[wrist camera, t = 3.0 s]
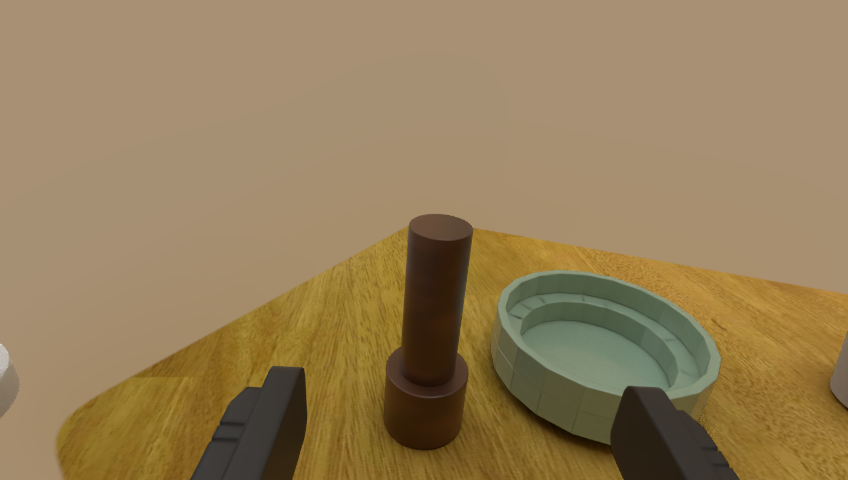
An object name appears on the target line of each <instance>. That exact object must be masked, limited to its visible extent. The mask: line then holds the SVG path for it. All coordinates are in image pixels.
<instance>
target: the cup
mask: <svg viewBox="0 0 848 480" xmlns="http://www.w3.org/2000/svg"><path fill="white" fill-rule="evenodd" d="M830 387H831V390H832V392H833V393H834V395H835V396H836V397H837V399H838V400H839V401H840V402H841V403H842V404H843V405H844V406H845V407H847V408H848V332H847V334H846V337H845V340H844V343H843V346H842V349H841V352H840V355H839V358H838V361H837V364H836V367H835V370H834V373H833V376H832V378H831V381H830Z"/></svg>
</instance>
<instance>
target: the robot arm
mask: <svg viewBox="0 0 848 480" xmlns="http://www.w3.org/2000/svg"><path fill="white" fill-rule="evenodd" d="M306 424H307V402H306V385H305V371H304V368H302V367H283V366H272V367H271V369H270V370H269V372H268V375H267V377H266V379H265V381H264V384H263V386H262V388H259V387H246V388H245V389H244V390H243V391H242V392H241V393H240V394H239V395H238V396H237V397H235V398H234V399H233V400H232V401H231V402H230V403H229V405H228V407H227V409H226V411H225V413H224V415H223V417H222V419H221V421H220V425H219V426H218V427H217V429H216V431H215V432H214V434H213V436H212V441H211V442H209V444H208V446H207V448H206V450H205V452H204V454H203V456H202V458H201V460H200V462H199V464H198V466H197V467H196V469H195V471H194V473H193V475H192V477H191V479H190V480H292V479H293V475H294V472H295V468H296V465H297V461H298V458H299V454H300V451H301V448H302V444H303V441H304V437H305V431H306ZM610 444H611V450H612V453H613V456H614V459H615V461H616V463H617V466H618V468H619V470H620V472H621V475H622V477H623V479H624V480H740V479H739V478H738V476H737V475H736V473H735V472H734V470H733V469H732V468H729V463H728V462H727V460H726V459H725V457H724V456H723V455H722V453H721V452H720V451H718V450H717V448H718V447H717V446H716V445H715V443H714V442H713V440H712V439H711V437H710V436H709V434H708V433H707V432H706V430H705V429H704V427H702V426H701V425H700V424H699V423H698V422H697V421H695V420H694V419H693V418H692V417H691V416H690V415H688V414H687V413H686V412H685V411H684V410H676V408H675V407H674V405H673V403H672V402H671V400H670V399H669V397H668V396H667V394H666V393H665V392H664V390H663V389H661V388H659V387H643V386H627V387H626V388H625V390H624V392H623V395H622V398H621V401H620V404H619V407H618V410H617V413H616V416H615V419H614V422H613V425H612V428H611V433H610Z"/></svg>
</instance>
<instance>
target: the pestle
mask: <svg viewBox="0 0 848 480" xmlns="http://www.w3.org/2000/svg"><path fill="white" fill-rule="evenodd" d="M472 236H473V228H472V226H471V225H470V224H469V223H468V222H466V221H465V220H463V219H460V218H457V217H454V216H449V215H442V214H428V215H422V216H418V217H416V218H414V219H412V220H411V222H410V223H409V233H408V248H407V264H406V280H405V295H404V311H403V327H402V342H401V347H399V348H398V349H396V350H395V351H394V352H393V353H392V354H391V355H390V357H389V359H388V361H387V364H386V381H385V402H384V422H385V426H386V428H387V430H388V431H389V433H390V434H391V435H392V436H393V438H395V439H396V440H397V441H398V442H400V443H402V444H404V445H406V446H408V447H411V448H415V449H434V448H438V447H441V446H444V445H446V444H447V443H449V442H450V441H451V440H452V439H454V438H455V436H456V435H457V434H458V432H459V430H460V427H461V421H462V414H463V407H464V400H465V394H466V387H467V380H468V367H467V364H466V362H465V361H464V359H463V358H462V357H461V355H460V354H458V353H457V350H458V343H459V335H460V327H461V320H462V312H463V304H464V297H465V289H466V282H467V274H468V266H469V259H470V251H471V243H472Z"/></svg>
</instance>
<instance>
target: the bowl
mask: <svg viewBox="0 0 848 480" xmlns="http://www.w3.org/2000/svg"><path fill="white" fill-rule="evenodd" d="M490 349H491V354H492V359H493V364H494V368H495V370H496V372H497V373H498V375H499V376H500V378H501V380H502V381H503V383H504V384H505V386H506V387H507V389H508V390H509V392H511V393H512V394H513V395H514V396H515V397H516V398H518V399H519V400H520V401H521V402H522V403H523V404H524V405H526V406H527V407H528V408H529V409H530V410H531V411H533V412H534V413H535V414H537V415H538V416H540V417H542V418H544V419H545V420H547V421H549V422H551V423H553V424H555V425H557V426H558V427H560V428H562V429H564V430H566V431H568V432H570V433H571V434H574V435H578V436H581V437H584V438H588V439H591V440H595V441H598V442H601V443H605V444H608V445H611V444H610V433H611V428H612V425H613V422H614V419H615V416H616V413H617V410H618V407H619V404H620V401H621V398H622V395H623V392H624V390H625V388H626V387H627V386H643V387H659V388H661V389H663V390H664V392H665V393H666V394H667V396H668V397H669V399H670V400H671V402H672V403H673V405H674V407H675V408H676V410H684V411H685V412H686V413H687V414H688V415H690V416H691V417H692V418H693V419H694V420H695V421H697V422H698V420H699V418H700V416H701V414H702V412H703V409H704V407H705V405H706V403H707V400H708V398H709V396H710V394H711V392H712V390H713V387H714V385H715V383H716V381H717V379H718V374H719V369H720V364H721V357H720V355H719V352H718V350H717V347H716V345H715V342H714V340H713V338H712V337H711V336H710V335H709V334H708V332H707V331H706V330H705V329H704V328H703V327H702V326H701V325H700V324H699V323H698V321H697V320H696V319H695V318H694V317H692V316H691V315H690V314H688V313H687V312H685V311H684V310H682V309H681V308H680V307H678V306H677V305H675V304H674V303H673V302H671V301H669V300H667V299H665V298H663V297H661V296H659V295H657V294H655V293H653V292H651V291H649V290H647V289H645V288H643V287H640V286H637V285H634V284H631V283H629V282H626V281H623V280H620V279H617V278H613V277H609V276H604V275H599V274H594V273H590V272H583V271H568V270H553V271H544V272H535V273H532V274H529V275H526V276H524V277H521V278H518V279H516V280H514V281H513V282H512V283H511V284H510V285H508V286H507V287H506V288H505V289H504V290H503V291H502V293H501V296H500V299H499V302H498V305H497V310H496V316H495V322H494V328H493V333H492V339H491V345H490Z"/></svg>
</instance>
